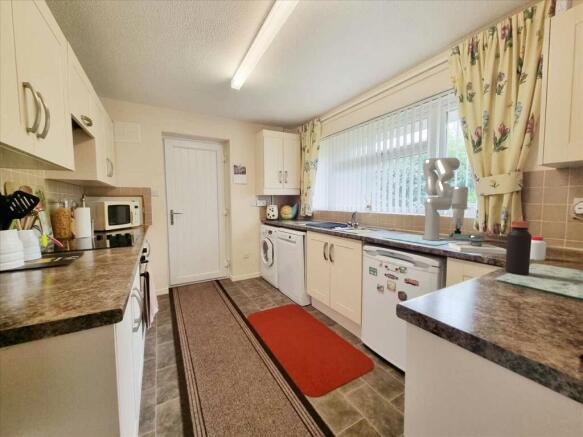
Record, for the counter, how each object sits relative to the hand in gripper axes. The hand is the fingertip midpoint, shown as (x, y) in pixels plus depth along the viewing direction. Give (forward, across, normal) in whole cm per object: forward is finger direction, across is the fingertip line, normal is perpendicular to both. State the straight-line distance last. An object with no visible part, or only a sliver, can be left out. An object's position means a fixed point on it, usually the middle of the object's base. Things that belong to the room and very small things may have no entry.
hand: (457, 237), depth 146 cm
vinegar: (+6, +52, +18) cm, 55 cm away
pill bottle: (+6, +13, +31) cm, 34 cm away
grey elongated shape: (+4, +3, +4) cm, 6 cm away
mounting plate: (+6, +3, +9) cm, 12 cm away
